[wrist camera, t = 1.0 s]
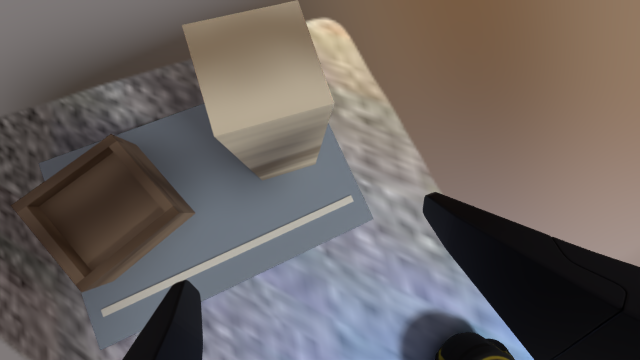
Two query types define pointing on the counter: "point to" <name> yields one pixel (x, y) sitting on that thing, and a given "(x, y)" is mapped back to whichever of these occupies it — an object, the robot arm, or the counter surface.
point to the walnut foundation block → (103, 212)
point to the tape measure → (472, 348)
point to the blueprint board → (220, 219)
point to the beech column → (262, 87)
